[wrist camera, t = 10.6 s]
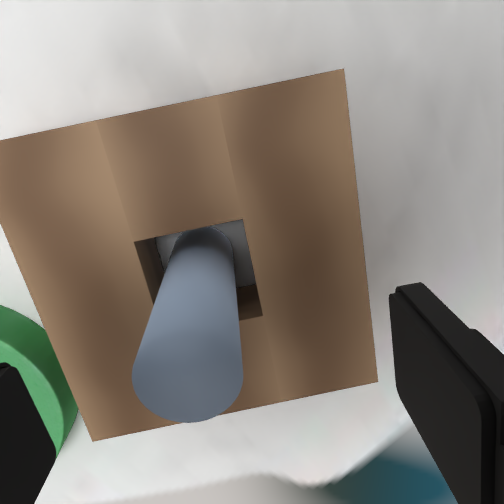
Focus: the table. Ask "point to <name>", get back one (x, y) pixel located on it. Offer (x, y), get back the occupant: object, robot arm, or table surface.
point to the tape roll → (38, 372)
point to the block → (192, 217)
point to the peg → (192, 333)
